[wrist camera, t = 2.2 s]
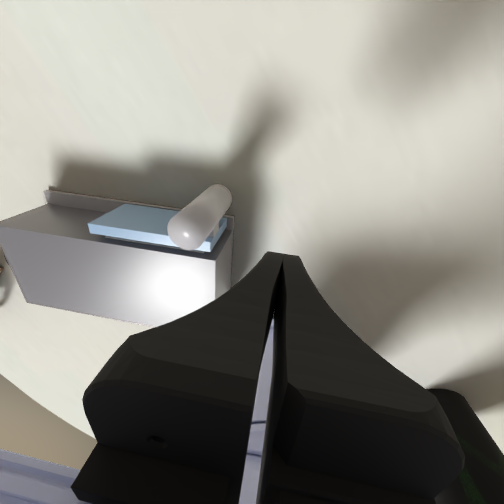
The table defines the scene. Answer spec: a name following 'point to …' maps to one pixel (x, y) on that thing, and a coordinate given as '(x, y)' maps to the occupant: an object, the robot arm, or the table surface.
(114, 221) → the door
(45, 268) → the housing
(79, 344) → the table surface
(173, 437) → the robot arm
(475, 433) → the cup
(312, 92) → the table surface
